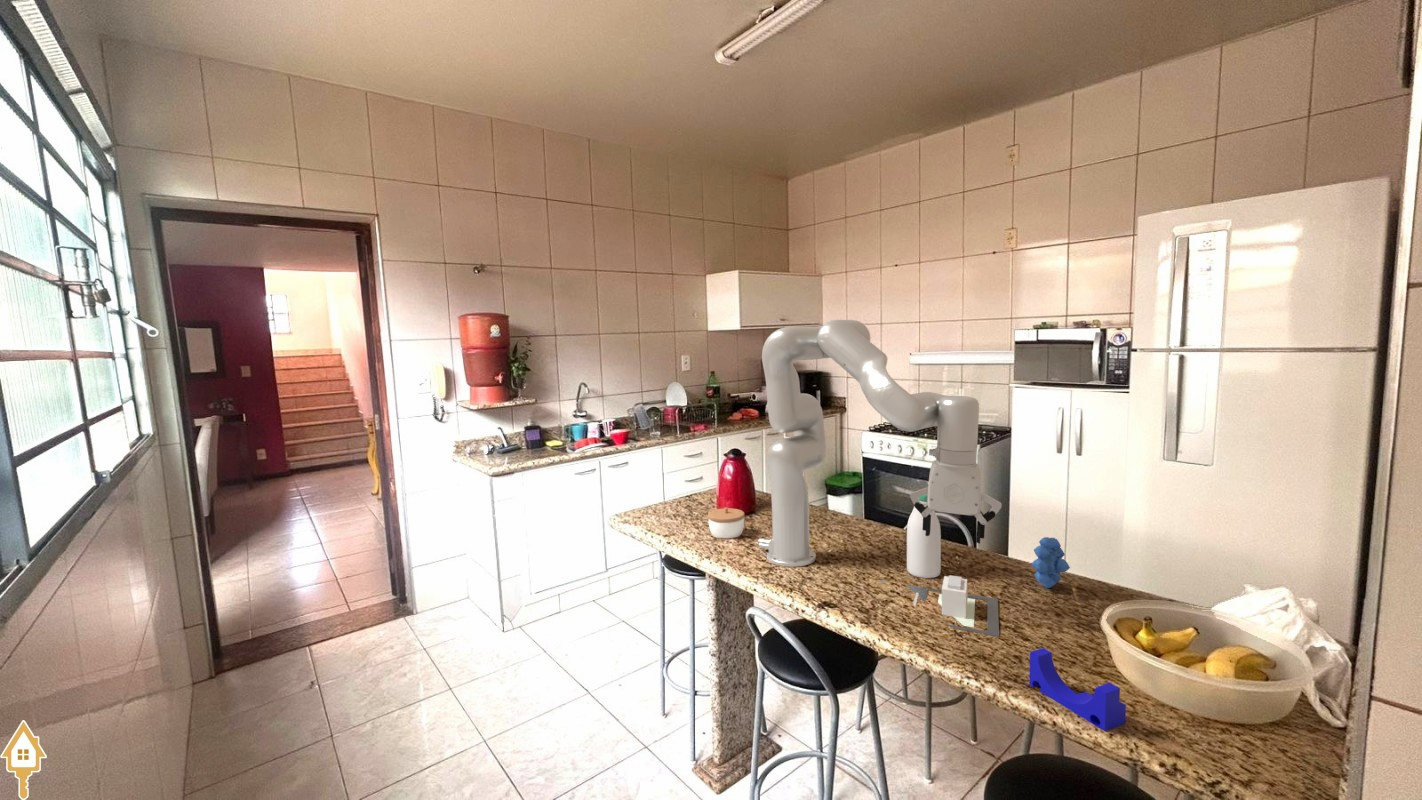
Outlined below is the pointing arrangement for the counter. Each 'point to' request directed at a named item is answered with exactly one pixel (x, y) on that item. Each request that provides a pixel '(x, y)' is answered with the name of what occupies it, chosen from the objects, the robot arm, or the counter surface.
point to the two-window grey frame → (991, 602)
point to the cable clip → (1093, 708)
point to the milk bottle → (923, 545)
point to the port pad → (969, 612)
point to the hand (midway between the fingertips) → (952, 537)
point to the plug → (954, 596)
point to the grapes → (1049, 562)
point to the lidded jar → (726, 522)
